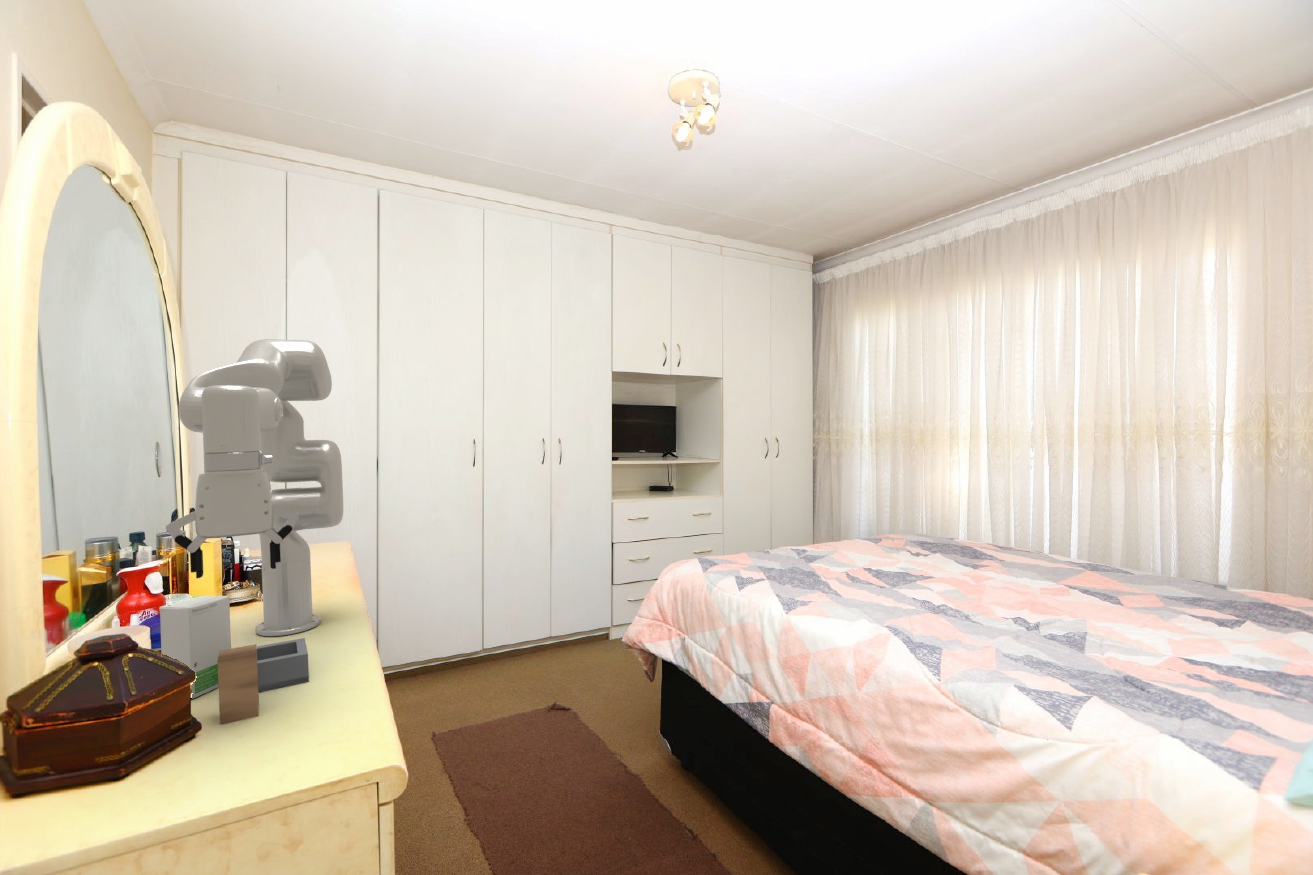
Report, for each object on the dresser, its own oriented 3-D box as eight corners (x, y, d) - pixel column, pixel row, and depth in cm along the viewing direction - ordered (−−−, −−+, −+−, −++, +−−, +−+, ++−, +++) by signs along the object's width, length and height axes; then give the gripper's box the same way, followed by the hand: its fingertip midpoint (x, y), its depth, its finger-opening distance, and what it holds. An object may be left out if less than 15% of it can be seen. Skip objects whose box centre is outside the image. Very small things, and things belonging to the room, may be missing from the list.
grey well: (243, 675, 114) (242, 648, 113) (305, 663, 119) (304, 637, 119) (241, 695, 105) (240, 666, 105) (308, 681, 110) (307, 653, 110)
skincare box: (191, 700, 104) (187, 608, 103) (159, 698, 105) (155, 607, 105) (235, 680, 112) (231, 594, 111) (204, 677, 113) (201, 593, 113)
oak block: (221, 712, 99) (219, 650, 99) (258, 704, 102) (256, 644, 102) (219, 724, 95) (217, 660, 95) (258, 716, 98) (256, 653, 97)
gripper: (295, 460, 105) (299, 560, 106) (166, 466, 96) (171, 575, 96) (298, 461, 99) (301, 568, 99) (160, 468, 90) (165, 585, 90)
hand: (237, 571), depth 98 cm, fingers open, 9 cm apart
